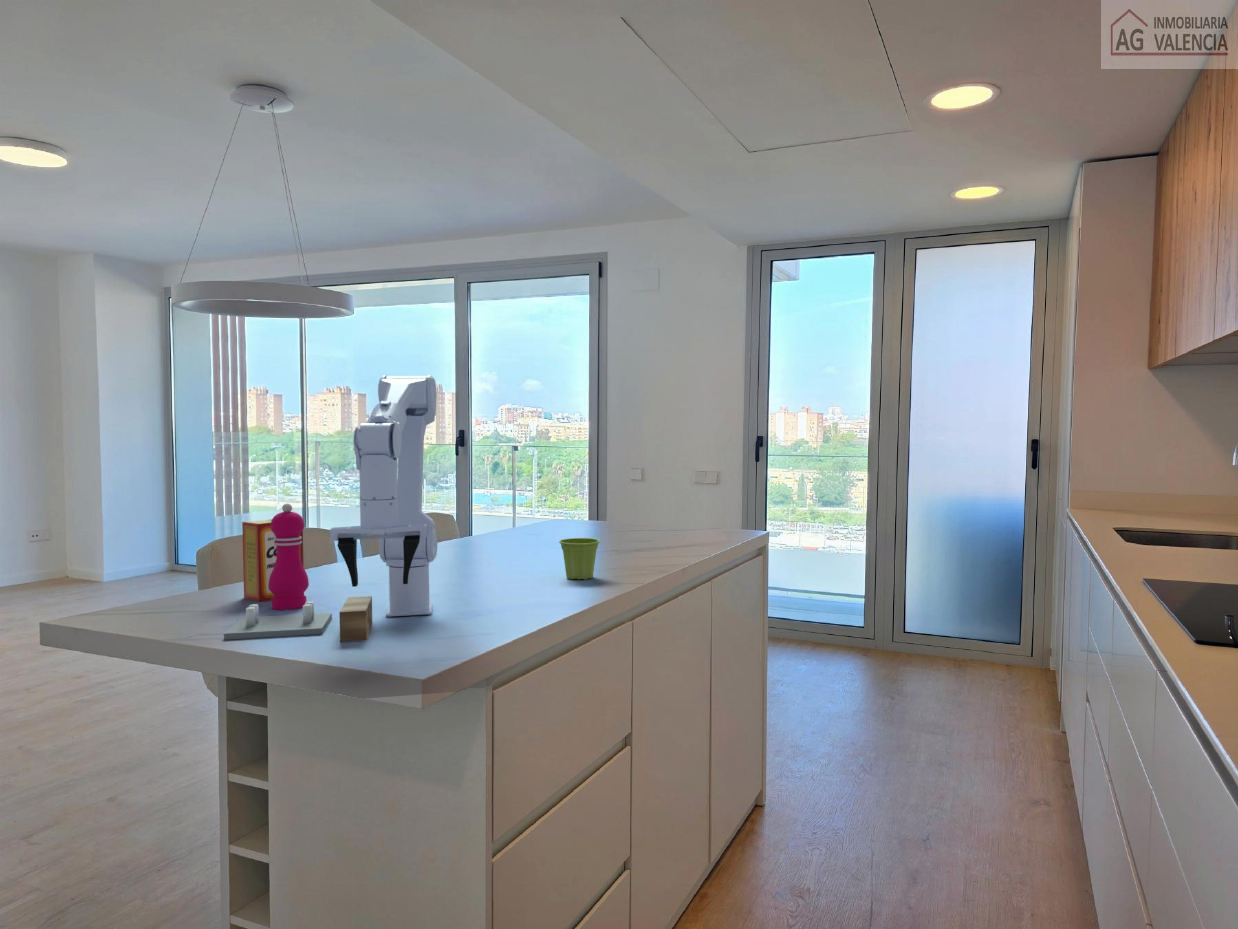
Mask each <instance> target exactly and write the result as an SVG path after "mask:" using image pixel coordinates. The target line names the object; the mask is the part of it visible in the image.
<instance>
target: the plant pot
mask: <svg viewBox="0 0 1238 929" xmlns="http://www.w3.org/2000/svg"><path fill="white" fill-rule="evenodd" d="M558 543H559V544H560V547H561V550H562V553H563V561H564V568H565V575H566V576H565V577H566V578H567V579H570V580H575V579H577V580H579V581H581V580H580V579H584V580H589V579H588V578H590V579H592V578H594V571H595V563H596V555H597V550H598V547H599V543H601V540H600V539H599V538H589V537H574V538H565V539H564V538H563V539H560V540H559V541H558Z"/></svg>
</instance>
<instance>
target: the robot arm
mask: <svg viewBox="0 0 1238 929" xmlns="http://www.w3.org/2000/svg"><path fill="white" fill-rule="evenodd" d="M436 384H437V383H436V379H435V378H434V377H433V376H432V375H431V374H428V375H387V374H386V375H384V374H383V375H381V377H380V378H379V380H378V385H377V386H378V387H377V396H378V402H379V403H377V404H376V405H375V406H374V408H373V409H372V411H371V413H370V414H369V417H368V419H367V421H366V422H365V423H364V422H362V423H360V426H356V427H355V429H354V433H353V450H354V455H355V462H356V463H355V464H356V466H355V467H356V470H357V471H359V513H360V514H359V515H360V519H359V520H360V521H359V524H360V525H352V526H351V525H350V526H335V527H333V526H332V527H331V528H330V530H329V531H330V534H329V536H330V538H329V539H330V542H337V547H338V551H339V552H340V554H341V555H342V558H343V561H344V562H345V564H346V567H347V569H348V573H349V576H350V580H351V581H350V582H351V586H352V588H354V587H358V585H359V575H358V574H359V573H358V564H357V562H358V561H357V552H358V551H357V548H358V547H357V546H358V545H357V544H358V540H379V541H378V555H379V558H380V559H381V560H382V562H383V563H385V564H386V567H388V586H389V589H388V592H389V594H388V595H389V598H388V599H389V605H388V607H387V609H386V610H387V611H386V613H385V616H386V617H405V616H421V615H422V616H423V615H431V614H432V612H433V610H432V609H433V602H432V601H430V563H432V562H434V561H435V559H436V558H437V553H438V536H437V535H438V534H437V524H436V523H435V520H434V519H433V518H432V517H431V516H429V515H428V514H426V513H425V512H423V511H422V510H423V481H424V480H423V476H424V450H425V447H424V446H425V445H424V444H425V443H424V442H425V435H426V434H425V433H426V429H427V426H428V425H430V424H431V423H434V422H435V419H436V415H437V385H436Z"/></svg>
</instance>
